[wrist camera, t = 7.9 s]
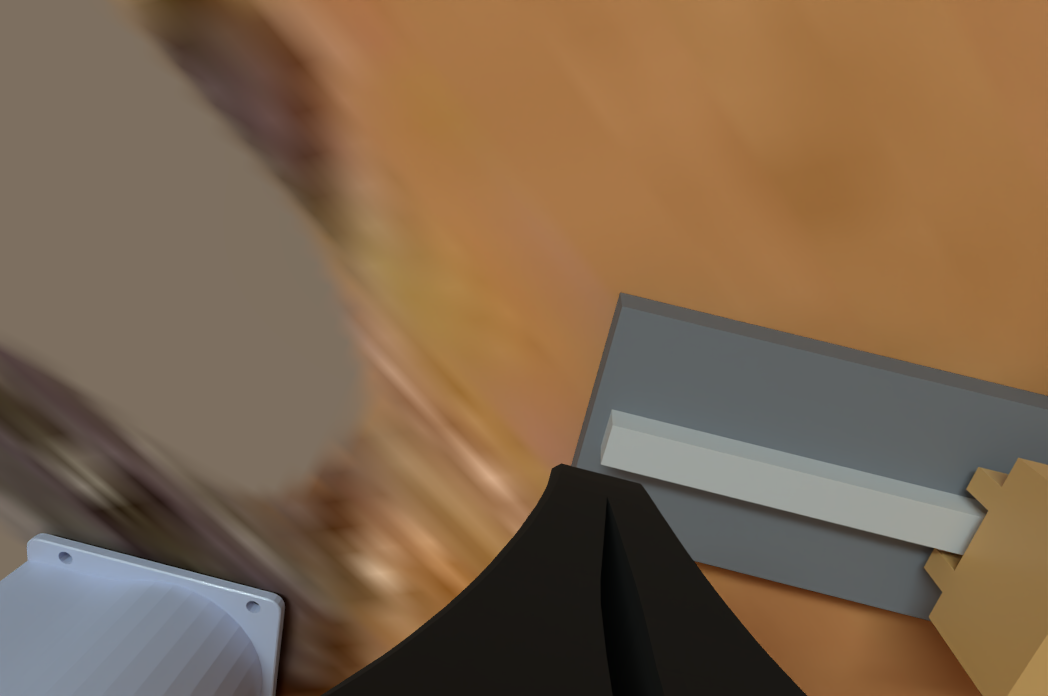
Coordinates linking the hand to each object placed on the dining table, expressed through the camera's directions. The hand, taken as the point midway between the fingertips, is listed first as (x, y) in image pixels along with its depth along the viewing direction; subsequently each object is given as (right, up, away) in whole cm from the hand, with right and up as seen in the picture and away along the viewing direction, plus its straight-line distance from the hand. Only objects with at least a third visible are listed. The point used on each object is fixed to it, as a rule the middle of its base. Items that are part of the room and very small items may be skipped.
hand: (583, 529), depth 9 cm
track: (+9, -1, +9) cm, 13 cm away
